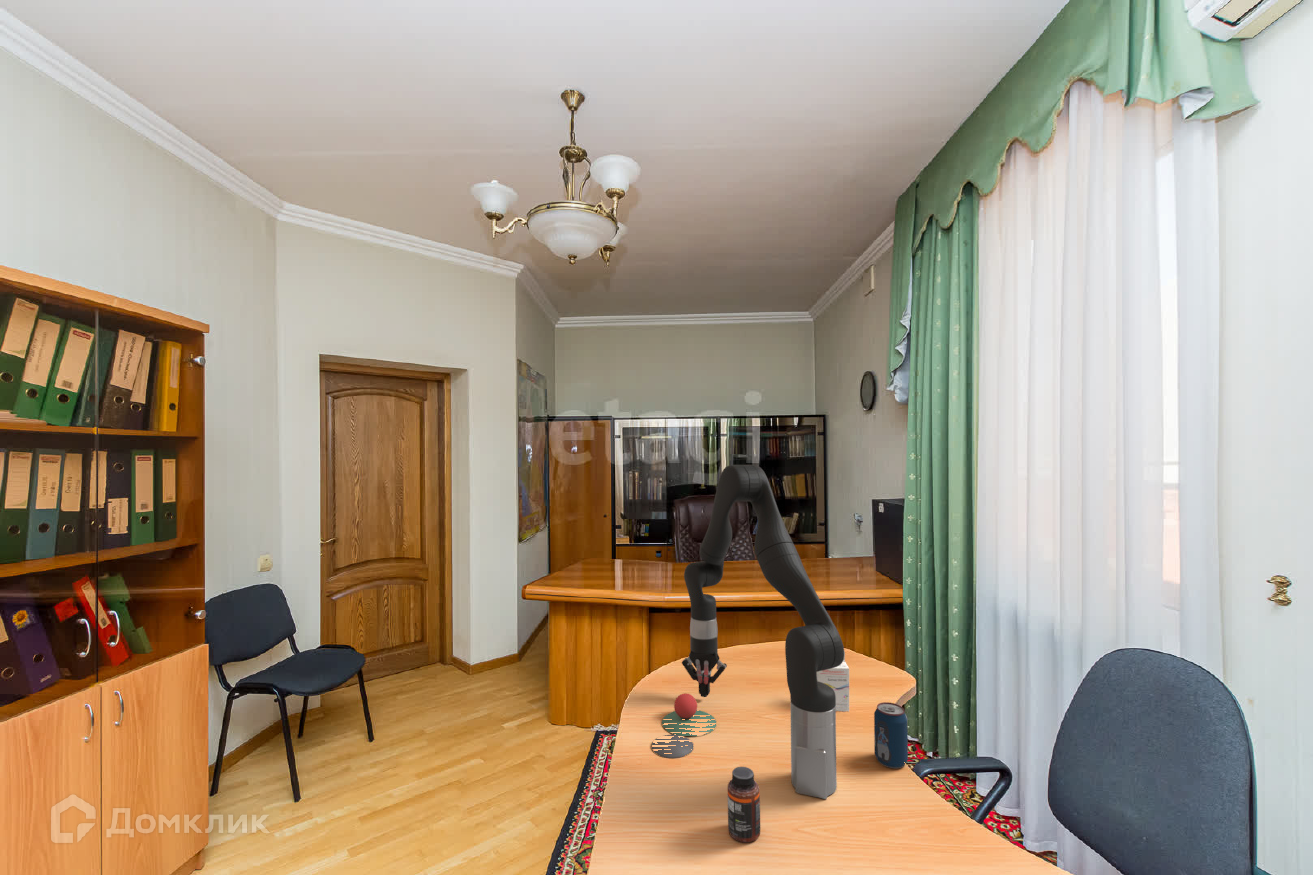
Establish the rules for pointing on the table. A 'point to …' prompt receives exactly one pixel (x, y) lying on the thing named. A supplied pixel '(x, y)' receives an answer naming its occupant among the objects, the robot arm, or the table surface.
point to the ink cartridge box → (837, 684)
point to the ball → (685, 706)
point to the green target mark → (679, 720)
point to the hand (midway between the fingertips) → (704, 695)
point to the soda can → (890, 735)
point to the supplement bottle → (743, 805)
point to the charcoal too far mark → (674, 747)
